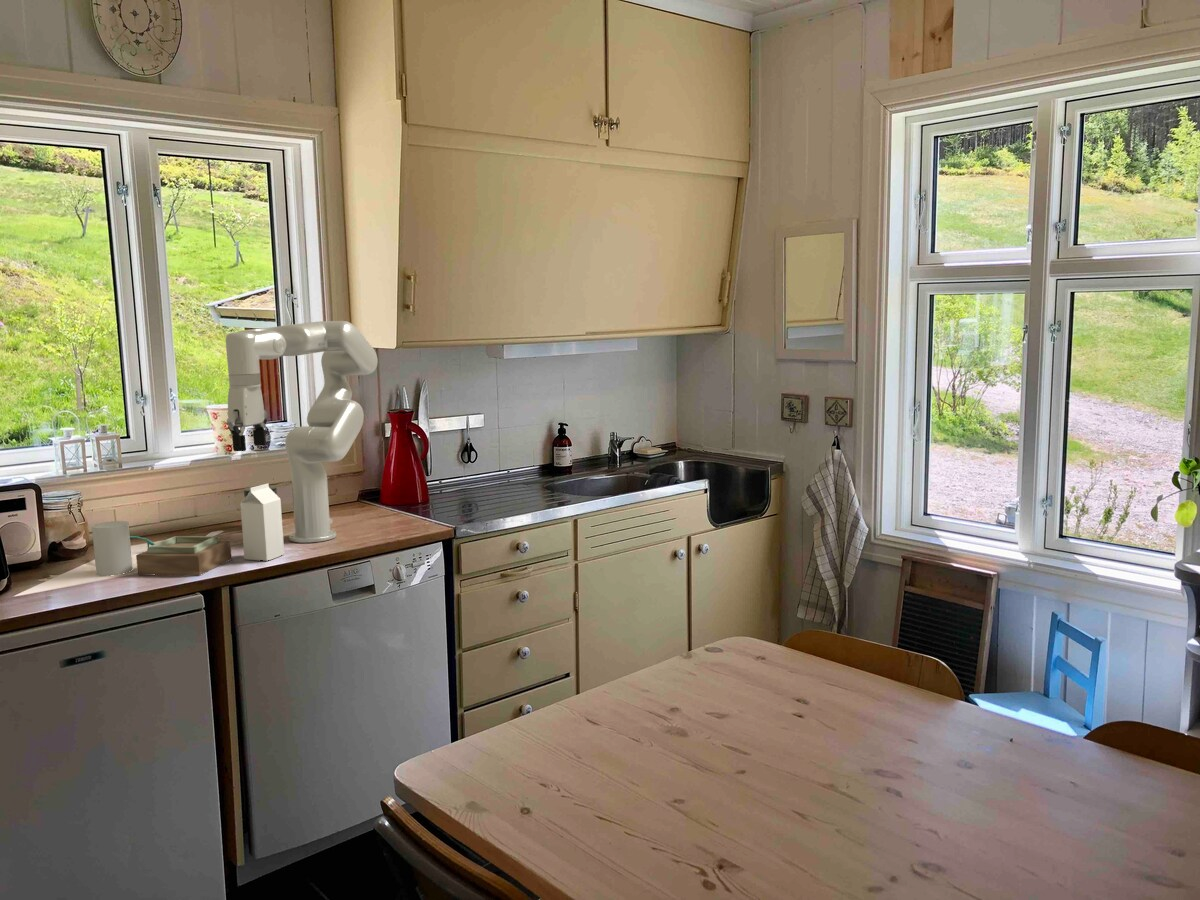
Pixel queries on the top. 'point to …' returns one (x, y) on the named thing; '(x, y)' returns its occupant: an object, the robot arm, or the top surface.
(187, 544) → the stand
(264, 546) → the milk carton
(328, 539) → the robot arm
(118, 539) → the cup
